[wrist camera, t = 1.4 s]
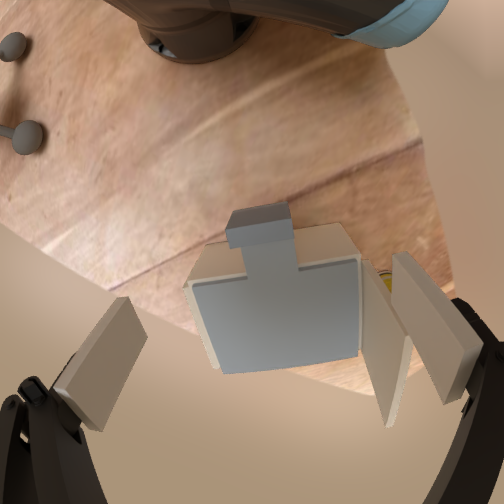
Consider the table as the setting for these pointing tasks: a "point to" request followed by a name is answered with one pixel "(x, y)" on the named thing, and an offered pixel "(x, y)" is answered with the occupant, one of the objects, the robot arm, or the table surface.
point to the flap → (278, 300)
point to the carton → (370, 306)
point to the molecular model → (29, 131)
